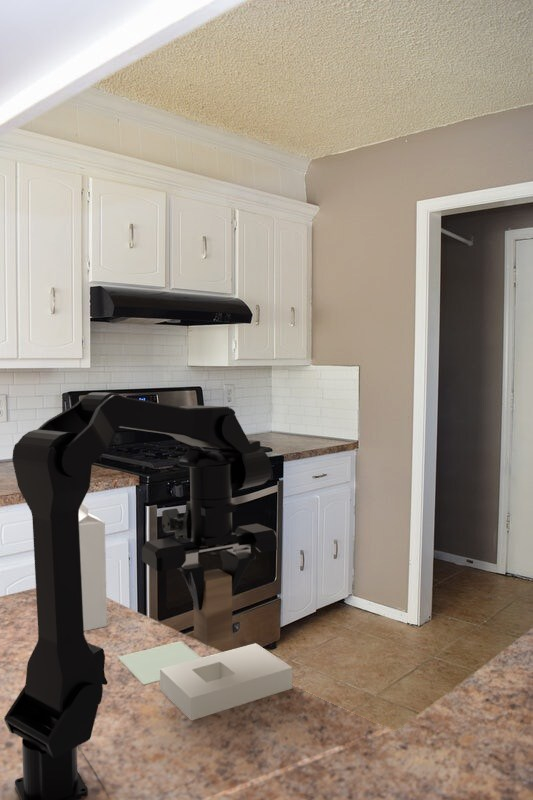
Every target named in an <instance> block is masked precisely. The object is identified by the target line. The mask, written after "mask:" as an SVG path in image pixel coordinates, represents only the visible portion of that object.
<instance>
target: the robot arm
mask: <svg viewBox="0 0 533 800" xmlns="http://www.w3.org/2000/svg"><path fill="white" fill-rule="evenodd" d="M119 428H121V429H128V430H136V431H143V432H150V433H156V434H157V433H158V434H164V435H168V436H170V437H173V438H174V440H176V441H179V442H181V443H184V444H186V445H189V446H191V448H188V450H187V452H186V453H185V454H184V455H183V456H182V457H181V458H180V459H179V460H178V462H177V464H178V466H179V467H182V468H183V467H186V468H189V483H190V485H189V487H190V488H189V489H190V491H189V492H190V493H189V495H190V500H189V501H186V505H185V512H183V513H182V512H181V513H180V512H179V510H178V508H169V509H165V510H162V511H161V514H162V515H161V516H162V517H161V524H162V525H161V526H162V529H163V532H164V533H165V534H168V533H174V535H175V539H181V538H184V539H185V540H190V541H187V542H182V543H180V542H178V541H176V540H175V539H173V538H170V537H165V538H159V539H153V540H146V541H145V543H144V545H143V546H142V548H141V561H142V562H143V563H145V564H146V565H147V566H149V567H150V568H151V569H153V570H155V571H158V572H165V571H170V570H176V569H177V570H179V571H180V572H181V575H182V577H183V578H184V581H185V583H186V585H187V588H188V590H189V593H190V596H191V598H192V599H191V600H192V601H194V603H193V605H194V604H195V607H196V609H198V610H202V605H203V592H204V571H205V565H203V564H202V563H200V562H199V556H200V555H206V554H211V553H216V552H219V555H220V559H221V562H222V571H223V572H225V573H227V574H229V575H231V576H232V597H233V596H234V593H235V592H236V589H237V588H238V585H239V583H240V581H241V578H242V576H243V575H244V574H245V571H246V570H247V568H248V566H249V564H250V563H251V561H254V560H256V554H254V553H252V552H251V551H252V550H251V546H254V548H255V549H256V550H257V551H258V552H259V553H261V554H262V553H266V552H272V551H277V550H278V549H279V546H278V545H279V540H278V539H279V538H278V534H277V533H276V531H275V530H274V529H272V528H270V527H268V526H265V525H262V524H259V523H253V524H251V523H250V524H247V525H246V524H245V525H239V526H237V527H236V529H235V531H234V532H233V513H236V512H237V504H236V503H233V501H232V500H233V499H232V497H233V496H232V491H239V490H243V489H248V488H251V487H252V488H253V487H256V486H260V485H264V484H266V482H268V480H269V479H270V478H271V475H272V468H273V467H272V465H273V464H272V462H271V461H270V458H269V456H268V454H267V453H266V451H264V449H262V448H261V440H254V439H252V440H251V439H248V437H247V435H246V434H245V433H246V432H245V431H244V430H243V428H242V425H241V424H240V422H239V420H238V419H237V416H236V411H235V410H234V409H233V408H231V407H229V406H219V405H218V406H214V405H196V404H195V405H180V406H177V405H170V404H166V403H161V402H160V403H159V402H155V401H149V400H144V399H138V398H133V397H127V396H122V395H121V394H119V393H116V392H89V393H88V394H86V395H85V396H83V397H81V398H80V399H79V400H78V401H77V402H76V403H75V404H74V405H73V406H71V407H69V408H67V409H66V410H64V411H62V412H61V413H58V414H57V415H55V416H53V417H51V418H50V419H48V420H47V421H45V422H44V423H43V424H42V425H40V426H39V427H38V428H37V429H33V430H30V431H27V432H26V433H24V434H23V435H22V436H21V438H20V439H19V440H18V442H17V443H15V444H14V446H13V450H12V465H13V468H14V473H15V477H16V482H17V487H18V489H19V491H20V493H21V496H22V497H23V499H24V500H25V503H26V504H27V507H28V509H29V510H30V514H31V517H32V519H31V520H32V536H33V537H32V538H33V539H32V540H33V553H34V555H33V557H34V574H35V578H34V579H35V596H36V615H37V616H36V617H37V632H38V633H37V634H38V635H37V636H38V638H37V642H36V644H35V646H34V648H33V651H32V652H31V655H30V656H29V658H28V661H27V665H26V674H25V685H23V688H22V690H21V691H20V693H19V694H18V696H17V697H16V698H15V700H14V702H13V703H12V705H11V706H10V708H9V710H7V712H6V714H5V715H4V719H3V720H4V723H5V724H6V728H7V729H8V732H9V733H11V734H15V735H17V736H18V737H20V738H21V739H22V741H21V742H22V743H21V750H22V777H19V778H16V779H15V781H14V787H15V790H16V791H17V794H18V797H19V798H20V800H77V799H78V800H79V799H80V798H83V797H85V796H87V795H88V794H89V788H88V786H87V785H86V783H85V781H84V779H83V778H82V776H81V775H80V773H79V770H78V747H79V746H80V745H82V744H85V743H86V742H88V741H89V740H90V739H91V737H92V733H93V729H94V725H95V721H96V718H97V714H98V708H99V705H101V703H102V699H103V695H104V694H103V693H104V687H103V686H106V685H108V680H107V678H106V674H105V662H106V655H105V654H106V653H105V650H104V648H101V647H100V646H98V645H94V644H91V643H89V642H88V640H87V639H86V635H85V631H84V622H83V600H82V578H81V556H80V535H79V508H80V506H81V504H82V503H83V502H84V499H85V498H86V496H87V494H88V493H89V492H88V491H89V489H90V487H91V479H92V471H93V464H95V462H96V461H97V460H99V458H100V457H102V455H103V454H104V453H106V452H107V450H108V449H109V446H110V444H111V442H112V438H113V437H114V434H115V432H116V431H117V430H118V429H119ZM192 447H199V448H192ZM203 451H205V452H203Z"/></svg>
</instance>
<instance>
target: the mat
mask: <svg viewBox="0 0 533 800" xmlns="http://www.w3.org/2000/svg"><path fill="white" fill-rule="evenodd" d="M199 658H202V657H201V656H200V655H199V654H197V653H196V652H195V651H194V650H193V649H191V648H190V647H189V646H188V645H186V643H184V642H183V641H175V642H172V643H167V644H163V645H158V646H156V647H152V648H151V647H150V648H147V649H143V650H140V651H136V652H131V653H128V654H123V655H120V656H117V659H118V661H120V662H121V663H122V664H123V665H124V667H125V668H126V669H127V670H128V671H129V672H130V673H131V674H132V675H133V676H134V677H135V678H136V679H137V681H139V682H140V683H141V684H142V685H143V686H147V685H151V684H154V683H157V682H160V669H161V668H165V667H169V666H173V665H176V664H180V663H184V662H187V661H191V660H195V659H199Z"/></svg>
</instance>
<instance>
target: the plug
mask: <svg viewBox="0 0 533 800" xmlns="http://www.w3.org/2000/svg"><path fill="white" fill-rule="evenodd" d="M192 601H193V600H192ZM233 631H234V630H233V596H232V576H231V575H229V574H227V573H225V572H223V569H219V568H215V569H209V570H204V592H203V605H202V610H198V609H196V607H195V604H194V601H193V637H195V638H196V639H197V640H198V641H200V642H201V643H203V645H205V646H206V647H208V646H212V645H216V644H220V643H223V642H227V641H232V640H233V638H234V637H233V634H234V633H233Z"/></svg>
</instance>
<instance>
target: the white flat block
mask: <svg viewBox="0 0 533 800" xmlns="http://www.w3.org/2000/svg"><path fill="white" fill-rule="evenodd" d="M159 689H160V691H161V692H162V693H163V694H164V695H165V696H166V697H167V698H168V699H169V700H170V701H171V703H173V704H174V706H176V708H177V709H179V710H180V711H181V713H183V715H184V716H185V717H187V718H188V720H189V721H195V720H198V719H200V718H201V719H202V718H203V717H204V718H205V717H206V716H210V715H213V714H216V713H220V712H223V711H227V710H228V709H229V710H230V709H232V708H236V707H238V706H239V707H240V706H241V705H245V704H248V703H250V702H255V701H257V700H261V699H264V698H267V697H270V696H273V695H276V694H279V693H283V692H286V691H288V690H292V689H293V667H292V666H291V665H289V664H288V663H286V662H285V661H283V660H282V659H280V658H279V657H278V656H275V655H274V654H273V653H271V652H270V651H268V650H267V649H265V648H263V647H262V646H261V645H259V644H258V643H256V642H254V643H251V644H248V645H243V646H240V647H237V648H233V649H230V650H225V651H222V652H218V653H215V654H211V655H207V656H203V657H201V658H199V659H195V660H191V661H187V662H184V663H180V664H176V665H173V666H169V667H165V668H161V669H160V681H159Z"/></svg>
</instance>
